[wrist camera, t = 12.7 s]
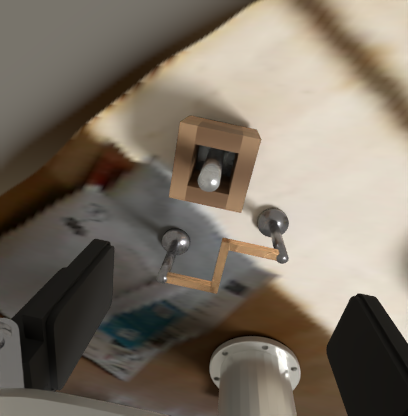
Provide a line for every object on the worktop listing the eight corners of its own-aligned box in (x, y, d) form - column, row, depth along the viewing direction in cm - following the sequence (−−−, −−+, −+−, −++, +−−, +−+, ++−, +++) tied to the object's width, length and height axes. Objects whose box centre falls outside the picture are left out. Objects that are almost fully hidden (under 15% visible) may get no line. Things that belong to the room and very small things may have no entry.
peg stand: (232, 178, 28) (231, 214, 21) (191, 170, 29) (174, 202, 21) (243, 136, 27) (246, 158, 19) (198, 127, 27) (183, 145, 19)
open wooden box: (240, 192, 28) (240, 212, 24) (179, 179, 28) (168, 197, 24) (256, 129, 26) (261, 139, 21) (189, 115, 26) (179, 122, 21)
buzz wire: (291, 228, 30) (306, 267, 24) (177, 267, 34) (164, 309, 27) (276, 188, 28) (287, 219, 22) (158, 233, 32) (139, 270, 26)
